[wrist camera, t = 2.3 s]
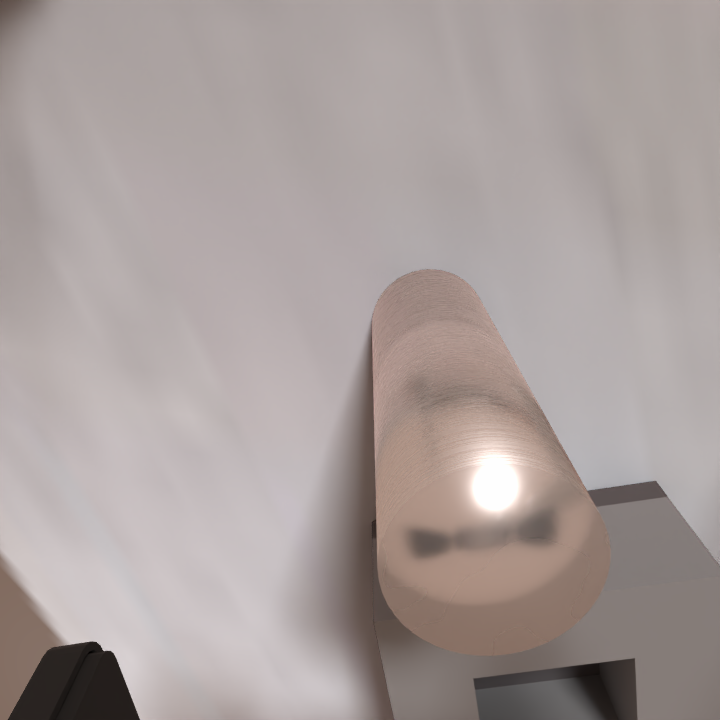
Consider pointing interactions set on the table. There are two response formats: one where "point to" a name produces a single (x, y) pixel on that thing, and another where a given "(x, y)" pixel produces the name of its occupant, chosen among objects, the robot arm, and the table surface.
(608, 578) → the hole block
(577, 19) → the table surface
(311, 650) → the table surface
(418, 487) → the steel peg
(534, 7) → the table surface
